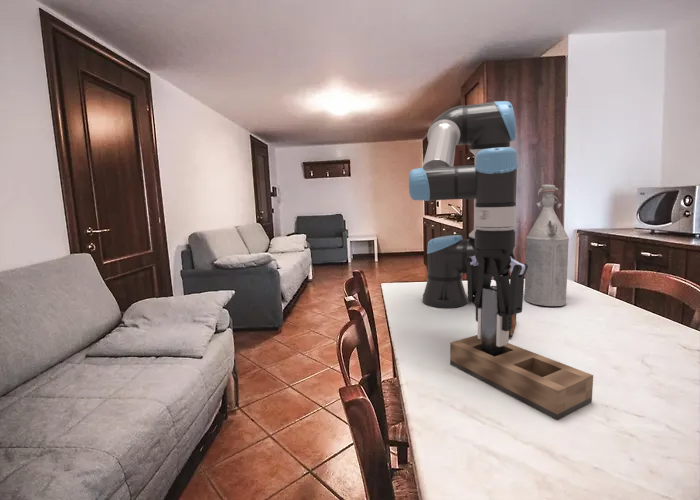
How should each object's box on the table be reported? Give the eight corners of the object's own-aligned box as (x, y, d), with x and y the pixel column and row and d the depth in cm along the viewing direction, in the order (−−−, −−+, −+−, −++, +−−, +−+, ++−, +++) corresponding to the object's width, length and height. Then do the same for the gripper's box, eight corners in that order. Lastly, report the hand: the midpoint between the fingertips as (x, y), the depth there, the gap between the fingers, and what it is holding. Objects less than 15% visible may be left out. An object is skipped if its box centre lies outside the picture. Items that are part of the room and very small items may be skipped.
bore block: (450, 364, 79) (450, 342, 78) (482, 353, 84) (482, 333, 83) (557, 420, 58) (558, 391, 58) (591, 402, 63) (593, 375, 62)
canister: (529, 307, 117) (533, 184, 112) (520, 294, 134) (523, 186, 128) (573, 309, 113) (579, 182, 108) (559, 295, 130) (564, 184, 125)
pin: (476, 361, 76) (477, 287, 74) (491, 356, 78) (492, 284, 76) (493, 369, 72) (495, 291, 70) (508, 364, 74) (510, 288, 72)
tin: (511, 340, 91) (512, 308, 90) (498, 338, 93) (498, 307, 92) (517, 322, 104) (517, 294, 103) (505, 321, 106) (505, 293, 105)
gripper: (449, 227, 77) (449, 332, 80) (520, 232, 62) (517, 360, 65) (474, 225, 81) (473, 325, 84) (547, 229, 66) (543, 351, 69)
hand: (492, 340), depth 75 cm, fingers closed on pin, 4 cm apart
